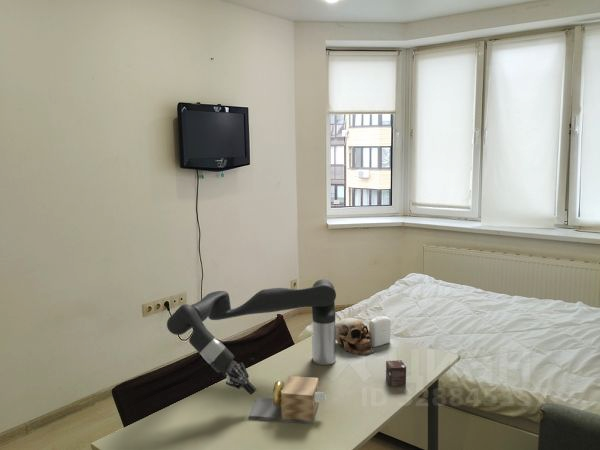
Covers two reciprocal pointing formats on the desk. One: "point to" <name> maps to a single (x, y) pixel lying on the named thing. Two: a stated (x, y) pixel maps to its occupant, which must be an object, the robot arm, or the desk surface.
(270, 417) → the bearing block
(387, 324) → the photo printer
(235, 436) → the desk surface
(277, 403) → the shaft
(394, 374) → the box
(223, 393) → the desk surface
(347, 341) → the skull
